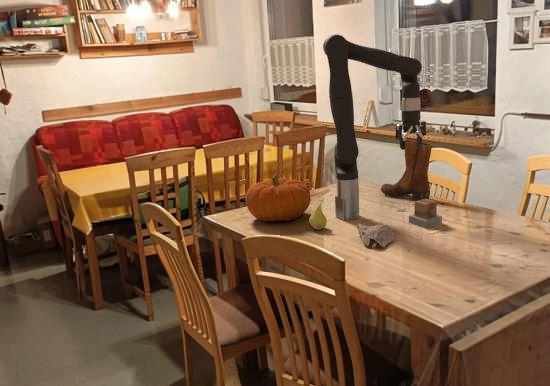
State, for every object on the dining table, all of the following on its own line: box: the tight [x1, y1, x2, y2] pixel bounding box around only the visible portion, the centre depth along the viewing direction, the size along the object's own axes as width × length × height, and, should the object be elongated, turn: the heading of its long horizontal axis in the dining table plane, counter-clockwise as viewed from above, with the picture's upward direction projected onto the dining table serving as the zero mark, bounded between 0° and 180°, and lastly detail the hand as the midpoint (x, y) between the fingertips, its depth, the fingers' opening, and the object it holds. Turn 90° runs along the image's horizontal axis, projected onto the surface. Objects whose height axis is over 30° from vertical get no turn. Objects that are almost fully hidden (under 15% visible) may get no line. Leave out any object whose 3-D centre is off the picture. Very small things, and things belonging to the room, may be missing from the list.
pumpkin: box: [244, 173, 312, 222], centre depth 238 cm, size 28×28×20 cm
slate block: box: [408, 213, 443, 229], centre depth 222 cm, size 9×9×4 cm
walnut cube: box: [414, 198, 438, 219], centre depth 220 cm, size 6×6×6 cm
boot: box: [380, 139, 433, 202], centre depth 256 cm, size 25×9×27 cm, turn 39°
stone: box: [356, 223, 395, 249], centre depth 205 cm, size 15×8×15 cm
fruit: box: [308, 198, 328, 231], centre depth 222 cm, size 7×8×12 cm
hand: (411, 147), depth 229 cm, fingers open, 8 cm apart
